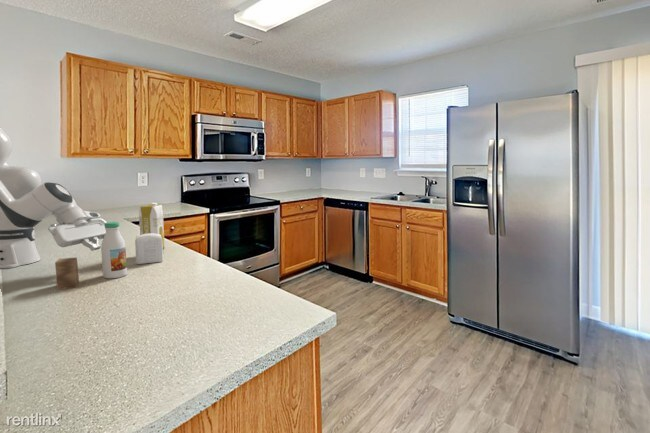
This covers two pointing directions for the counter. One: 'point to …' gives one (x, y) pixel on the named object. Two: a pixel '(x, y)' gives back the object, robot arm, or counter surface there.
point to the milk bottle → (113, 252)
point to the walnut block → (67, 273)
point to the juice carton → (151, 220)
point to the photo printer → (149, 248)
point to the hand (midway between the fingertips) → (96, 249)
